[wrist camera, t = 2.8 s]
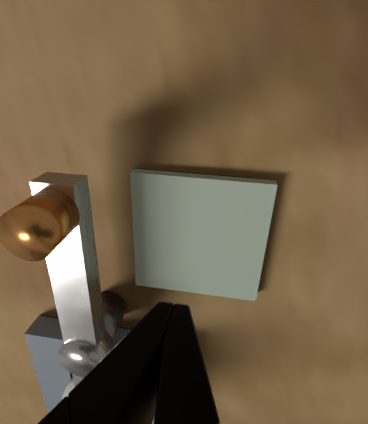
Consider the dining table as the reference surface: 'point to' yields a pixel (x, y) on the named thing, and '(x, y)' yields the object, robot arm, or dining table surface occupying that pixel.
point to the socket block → (52, 357)
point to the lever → (67, 265)
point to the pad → (200, 231)
